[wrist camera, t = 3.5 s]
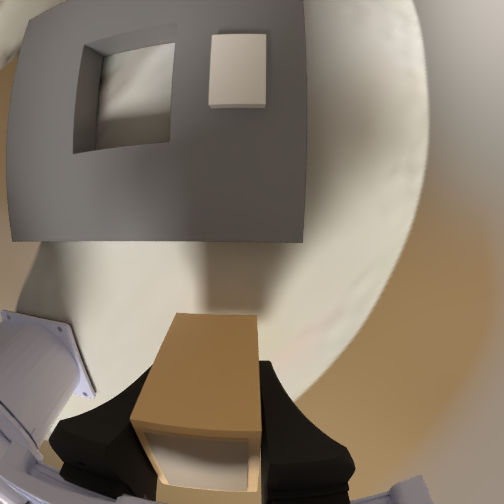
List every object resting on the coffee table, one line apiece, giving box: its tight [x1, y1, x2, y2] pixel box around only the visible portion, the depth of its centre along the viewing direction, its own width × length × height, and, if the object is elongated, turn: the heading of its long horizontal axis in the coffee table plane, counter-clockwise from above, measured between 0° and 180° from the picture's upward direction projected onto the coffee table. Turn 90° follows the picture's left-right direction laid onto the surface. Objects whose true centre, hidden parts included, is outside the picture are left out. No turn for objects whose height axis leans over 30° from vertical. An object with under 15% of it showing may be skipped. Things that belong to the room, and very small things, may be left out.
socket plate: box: [6, 0, 307, 243], centre depth 12 cm, size 18×16×3 cm
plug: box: [130, 313, 262, 492], centre depth 11 cm, size 4×5×7 cm
